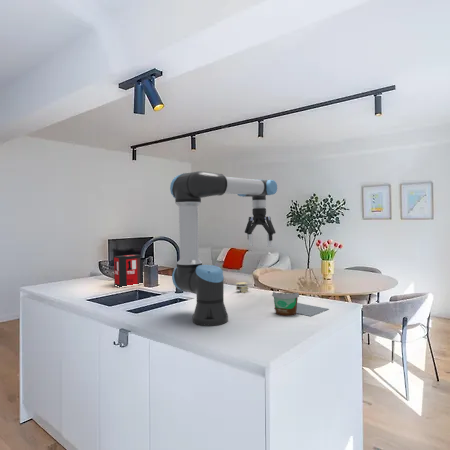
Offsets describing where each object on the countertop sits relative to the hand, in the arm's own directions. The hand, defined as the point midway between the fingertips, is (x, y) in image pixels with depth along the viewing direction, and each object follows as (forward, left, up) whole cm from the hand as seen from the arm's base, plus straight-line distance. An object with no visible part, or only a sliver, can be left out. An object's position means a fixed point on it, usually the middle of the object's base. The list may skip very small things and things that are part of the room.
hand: (259, 246), depth 195 cm
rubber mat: (-7, -31, -28) cm, 43 cm away
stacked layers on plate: (+3, +17, -29) cm, 33 cm away
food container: (-20, -31, -28) cm, 47 cm away
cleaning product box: (-32, +88, -28) cm, 98 cm away
